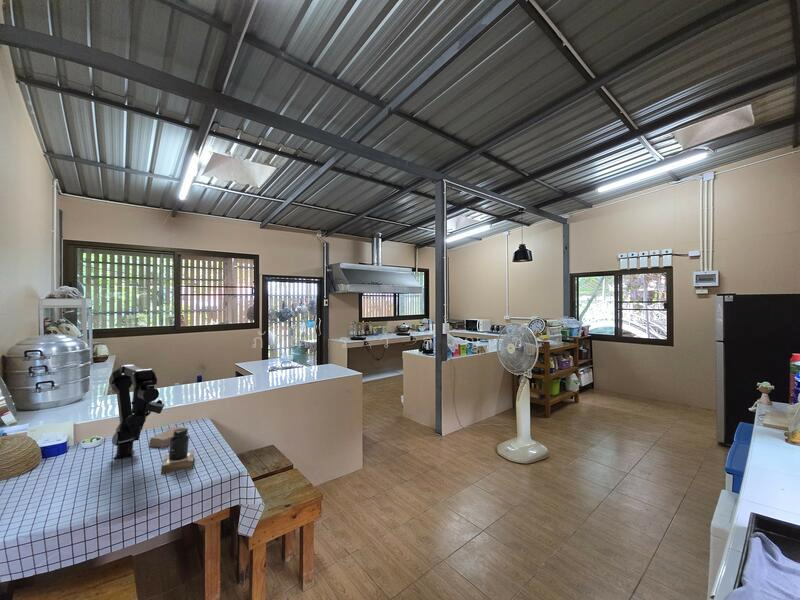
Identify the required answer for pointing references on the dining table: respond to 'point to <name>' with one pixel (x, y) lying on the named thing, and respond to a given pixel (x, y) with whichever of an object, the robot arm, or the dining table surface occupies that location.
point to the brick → (163, 438)
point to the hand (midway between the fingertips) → (138, 433)
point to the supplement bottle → (179, 445)
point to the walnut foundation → (177, 463)
